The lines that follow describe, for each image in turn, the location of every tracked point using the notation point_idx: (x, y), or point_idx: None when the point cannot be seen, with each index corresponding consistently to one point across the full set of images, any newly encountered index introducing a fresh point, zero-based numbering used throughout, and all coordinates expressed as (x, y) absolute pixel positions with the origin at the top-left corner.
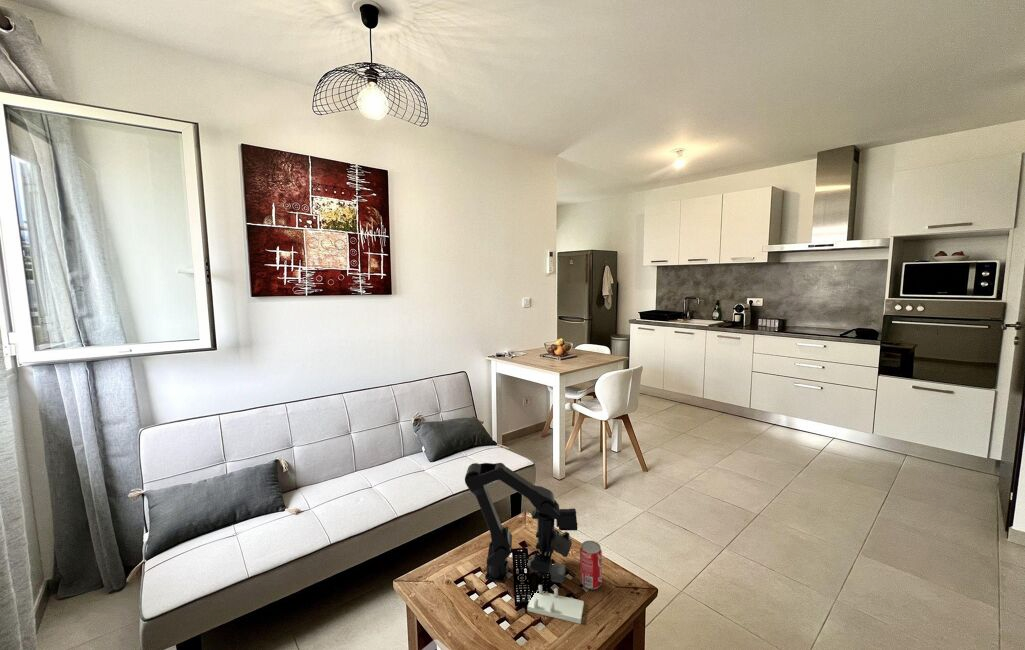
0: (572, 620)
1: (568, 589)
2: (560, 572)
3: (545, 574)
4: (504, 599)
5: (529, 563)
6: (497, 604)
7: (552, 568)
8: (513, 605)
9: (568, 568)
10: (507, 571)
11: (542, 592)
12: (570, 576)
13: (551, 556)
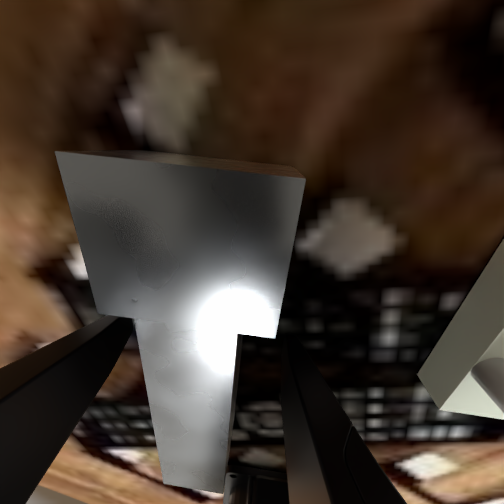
0: None
1: (381, 83)
2: (253, 221)
3: (328, 390)
4: (439, 472)
5: (199, 468)
6: (469, 489)
7: (201, 323)
8: (496, 447)
9: (54, 118)
10: (273, 500)
11: (491, 356)
12: (163, 78)
13: (18, 361)
